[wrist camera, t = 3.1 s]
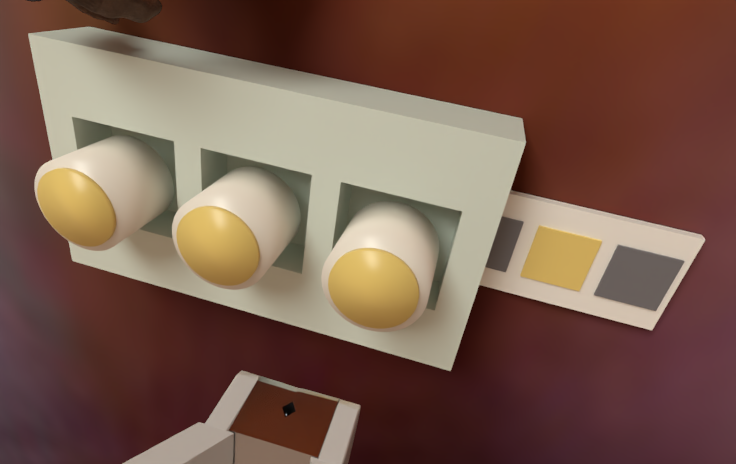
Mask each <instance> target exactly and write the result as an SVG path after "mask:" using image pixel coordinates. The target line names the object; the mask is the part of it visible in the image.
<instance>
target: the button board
mask: <svg viewBox="0 0 736 464" xmlns="http://www.w3.org/2000/svg"><path fill="white" fill-rule="evenodd" d="M28 36H29V41H30V46H31V51H32V56H33V61H34V66H35V72H36V77H37V82H38V87H39V92H40V97H41V102H42V108H43V113H44V118H45V123H46V128H47V133H48V138H49V143H50V149H51V154H52V159H56V158H58V157H61V156H63V155H66V154H68V153H71V152H73V151H76V150H78V149H81V148H83V147H86V146H88V145H91V144H93V143H96V142H98V141H101V140H103V139H106V138H108V137H111V136H114V135H129V136H132V137H136V138H138V139H140V140H142V141H144V142H145V143H147V144H148V145H149V146H151V147H152V148H153V149H154V150H155V151H156V152H157V153H158V154H159V155H160V156H161V158H162V159H163V160H164V162H165V163H166V165H167V167H168V169H169V171H170V173H171V176H172V180H173V186H174V194H173V199H172V202H171V204H170V206H169V207H168V209H167V210H166V211H165V212H163V213H162V214H160V215H159V216H157V217H156V218H155V219H153V220H152V221H150V222H149V223H147V224H146V225H144V226H143V227H141V228H140V229H139V230H137V231H136V232H134V233H133V234H131V235H130V236H128V237H127V238H125V239H124V240H123V241H121V242H120V243H118V244H117V245H115V246H114V247H112V248H110V249H108V250H104V251H91V250H87V249H84V248H81V247H79V246H77V245H75V244H73V243H71V242H69V246H70V251H71V256H72V261H75V262H78V263H82V264H85V265H89V266H92V267H95V268H99V269H102V270H106V271H109V272H113V273H116V274H119V275H123V276H126V277H130V278H133V279H136V280H140V281H143V282H147V283H150V284H154V285H157V286H160V287H164V288H167V289H171V290H174V291H178V292H181V293H184V294H188V295H191V296H195V297H198V298H202V299H205V300H208V301H212V302H215V303H219V304H222V305H226V306H229V307H232V308H236V309H239V310H243V311H246V312H250V313H253V314H256V315H260V316H263V317H267V318H270V319H273V320H277V321H280V322H284V323H287V324H291V325H294V326H297V327H301V328H304V329H308V330H311V331H315V332H318V333H321V334H325V335H328V336H332V337H335V338H339V339H342V340H345V341H349V342H352V343H356V344H359V345H363V346H366V347H369V348H373V349H376V350H380V351H383V352H387V353H390V354H393V355H397V356H400V357H404V358H407V359H410V360H414V361H417V362H421V363H424V364H428V365H431V366H434V367H438V368H441V369H445V370H448V371H451V369H452V366H453V363H454V360H455V357H456V354H457V351H458V348H459V344H460V341H461V338H462V335H463V332H464V329H465V326H466V323H467V320H468V317H469V314H470V311H471V308H472V305H473V302H474V299H475V296H476V293H477V290H478V287H479V284H480V281H481V278H482V275H483V272H484V269H485V266H486V263H487V260H488V257H489V254H490V250H491V247H492V244H493V241H494V238H495V235H496V232H497V229H498V226H499V223H500V220H501V217H502V214H503V211H504V208H505V205H506V202H507V199H508V196H509V193H510V190H511V187H512V184H513V181H514V178H515V175H516V172H517V169H518V166H519V163H520V160H521V156H522V153H523V150H524V147H525V144H526V139H525V132H524V126H523V119H522V118H518V117H513V116H508V115H504V114H499V113H494V112H489V111H485V110H480V109H475V108H471V107H466V106H461V105H456V104H452V103H447V102H442V101H438V100H433V99H428V98H423V97H419V96H414V95H409V94H405V93H400V92H395V91H390V90H386V89H381V88H376V87H372V86H367V85H362V84H357V83H353V82H348V81H343V80H339V79H334V78H329V77H324V76H320V75H315V74H310V73H306V72H301V71H296V70H291V69H287V68H282V67H277V66H273V65H268V64H263V63H258V62H254V61H249V60H244V59H240V58H235V57H230V56H225V55H221V54H216V53H211V52H207V51H202V50H197V49H192V48H188V47H183V46H178V45H174V44H169V43H164V42H159V41H155V40H150V39H145V38H141V37H136V36H131V35H126V34H122V33H117V32H112V31H108V30H103V29H98V28H93V27H82V28H73V29H65V30H56V31H47V32H38V33H29V34H28ZM245 166H254V167H260V168H263V169H266V170H268V171H270V172H272V173H274V174H275V175H277V176H278V177H280V178H281V179H282V180H283V181H284V182H285V183H286V184H287V185H288V186H289V187H290V188H291V190H292V191H293V193H294V195H295V197H296V199H297V201H298V204H299V207H300V214H301V221H300V226H299V229H298V232H297V234H296V235H295V237H294V238H293V239H292V241H291V242H290V243H289V244H288V246H287V247H286V248H285V249H284V250H283V252H282V253H281V254H280V255H279V257H278V258H277V259H276V260H275V262H274V263H273V264H272V265H271V267H270V268H269V269H268V270H267V272H266V273H265V274H264V275H263V277H262V278H261V279H260V280H259V281H258V282H257V283H255V284H254V285H252V286H250V287H248V288H244V289H238V290H230V289H224V288H219V287H216V286H214V285H211V284H209V283H207V282H206V281H204V280H202V279H201V278H199V277H198V276H197V275H195V274H194V273H193V272H192V271H191V270H190V269H189V268H188V267H187V266H186V264H185V263H184V262H183V261H182V259H181V257H180V256H179V254H178V252H177V250H176V247H175V245H174V241H173V236H172V224H173V220H174V216H175V214H176V213H177V211H178V210H179V208H180V207H181V206H182V205H184V204H185V203H186V202H188V201H189V200H190V199H192V198H193V197H195V196H196V195H198V194H199V193H200V192H202V191H203V190H205V189H206V188H207V187H209V186H210V185H212V184H213V183H215V182H216V181H217V180H219V179H220V178H222V177H223V176H224V175H226V174H227V173H229V172H230V171H232V170H234V169H236V168H239V167H245ZM379 201H397V202H402V203H405V204H408V205H410V206H412V207H414V208H416V209H418V210H419V211H420V212H422V213H423V214H424V215H425V216H426V217H427V218H428V219H429V220H430V222H431V223H432V224H433V226H434V228H435V230H436V232H437V235H438V238H439V255H438V260H437V264H436V268H435V273H434V277H433V281H432V286H431V290H430V295H429V299H428V303H427V306H426V308H425V310H424V312H423V314H422V315H421V316H420V317H419V319H417V320H416V321H415V322H414V323H413V324H411V325H410V326H408V327H406V328H403V329H400V330H397V331H391V332H376V331H370V330H366V329H363V328H360V327H358V326H355V325H353V324H351V323H350V322H348V321H346V320H345V319H344V318H342V317H341V316H340V315H339V314H338V313H337V312H336V311H335V310H334V309H333V308H332V306H331V305H330V304H329V302H328V300H327V298H326V297H325V294H324V291H323V288H322V281H321V276H322V269H323V266H324V263H325V261H326V260H327V258H328V256H329V255H330V253H331V251H332V250H333V248H334V247H335V245H336V243H337V242H338V240H339V239H340V237H341V235H342V234H343V232H344V231H345V229H346V227H347V226H348V224H349V223H350V221H351V219H352V218H353V217H354V215H355V214H356V213H357V212H358V211H359V210H360V209H362V208H363V207H365V206H367V205H369V204H371V203H374V202H379Z"/></svg>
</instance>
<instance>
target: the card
mask: <svg viewBox="0 0 736 464" xmlns="http://www.w3.org/2000/svg"><path fill="white" fill-rule="evenodd" d="M704 242H705V238H704V237H703V236H702V235H701V234H696V233H692V232H688V231H683V230H679V229H675V228H671V227H666V226H662V225H658V224H653V223H649V222H645V221H641V220H636V219H632V218H628V217H624V216H619V215H615V214H611V213H606V212H602V211H598V210H594V209H589V208H585V207H581V206H576V205H572V204H568V203H564V202H559V201H555V200H551V199H547V198H542V197H538V196H534V195H529V194H525V193H521V192H517V191H512V190H510V193H509V196H508V199H507V202H506V205H505V208H504V211H503V214H502V217H501V220H500V223H499V226H498V229H497V232H496V235H495V238H494V241H493V244H492V247H491V250H490V254H489V257H488V260H487V263H486V266H485V269H484V272H483V275H482V278H481V281H480V284H479V285H481V286H485V287H489V288H493V289H497V290H500V291H504V292H508V293H512V294H515V295H519V296H523V297H527V298H531V299H534V300H538V301H542V302H546V303H550V304H553V305H557V306H561V307H565V308H568V309H572V310H576V311H580V312H584V313H587V314H591V315H595V316H599V317H603V318H606V319H610V320H614V321H618V322H621V323H625V324H629V325H633V326H637V327H640V328H644V329H648V330H653V328H654V326H655V325H656V323H657V321H658V319H659V318H660V316H661V314H662V313H663V311H664V309H665V308H666V306H667V304H668V302H669V301H670V299H671V297H672V296H673V294H674V292H675V291H676V289H677V287H678V286H679V284H680V282H681V280H682V279H683V277H684V275H685V274H686V272H687V270H688V269H689V267H690V265H691V264H692V262H693V260H694V258H695V257H696V255H697V253H698V252H699V250H700V248H701V247H702V245H703V243H704Z"/></svg>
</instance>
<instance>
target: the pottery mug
mask: <svg viewBox="0 0 736 464" xmlns="http://www.w3.org/2000/svg"><path fill="white" fill-rule="evenodd" d="M27 1H41V0H27ZM66 1H68V2H69V3H71V4H72V5H73V6H75V7H76V8H77V9H78V10H80V11H81V12H83V13H86V14H88V15H90V16H92V17H93V18H96V19H100V20H105V21H107V22H110V23H112V24H117V23H119V18H126V19H129V20H132V21H135V22H139V23H144V22H147V21H148V20H150V19H151V18H153V17H154V16H156V15H157V14H159V13H160V11H161V8H162V5H161V2H160V1H159V0H66Z"/></svg>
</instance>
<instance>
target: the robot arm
mask: <svg viewBox="0 0 736 464" xmlns="http://www.w3.org/2000/svg"><path fill="white" fill-rule="evenodd" d="M360 409H361V405H358V404H354V403H351V402H347V401H344V400H340V399H338V398H335V397H331V396H327V395H324V394H320V393H316V392H313V391H309V390H306V389H302V388H300V389H299V388H296V387H293V386H290V385H287V384H284V383H281V382H278V381H275V380H271V379H268V378H265V377H262V376H258V375H255V374H252V373H249V372H245V371H241V372H239V373H238V374H237V375H236V376H235V378H234V380H233V381H232V383H231V384H230V386H229V387H228V389H227V390H226V392H225V393H224V395H223V397H222V398H221V400H220V401H219V403H218V404H217V406H216V407H215V409H214V410H213V412H212V414H211V415H210V417H209V418H208V420H207V421H206V423H205V424H204V423H200V422H198V423H197V424H195V425H193V426H191V427H189V428H187V429H185V430H184V431H182V432H180V433H178V434H176V435H174V436H173V437H171V438H169V439H167V440H165V441H163V442H161V443H160V444H158V445H156V446H154V447H152V448H150V449H149V450H147V451H145V452H143V453H141V454H139V455H137V456H136V457H134V458H132V459H130V460H128V461H126V462H125V463H123V464H348V461H349V457H350V453H351V449H352V445H353V441H354V436H355V432H356V427H357V423H358V418H359V413H360Z"/></svg>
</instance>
